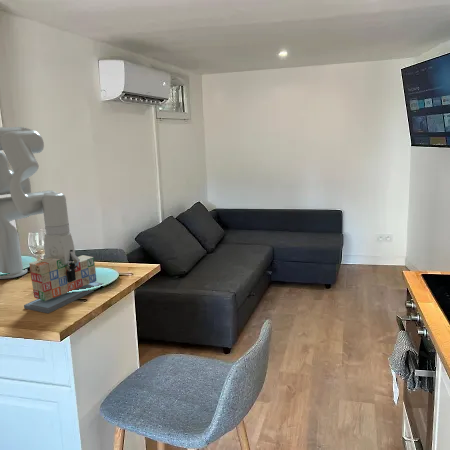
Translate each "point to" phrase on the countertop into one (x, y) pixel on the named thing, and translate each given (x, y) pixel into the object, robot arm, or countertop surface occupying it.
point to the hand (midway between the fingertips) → (63, 279)
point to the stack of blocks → (59, 276)
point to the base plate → (59, 300)
